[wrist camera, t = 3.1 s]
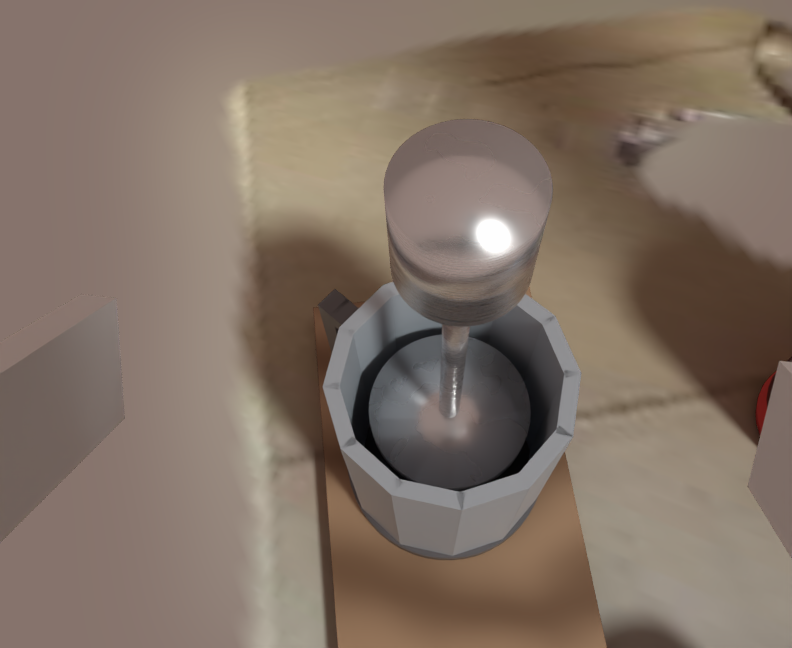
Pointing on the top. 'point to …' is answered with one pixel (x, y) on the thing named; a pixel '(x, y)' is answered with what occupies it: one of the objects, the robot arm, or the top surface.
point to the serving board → (458, 571)
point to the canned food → (764, 400)
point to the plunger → (459, 299)
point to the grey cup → (423, 504)
